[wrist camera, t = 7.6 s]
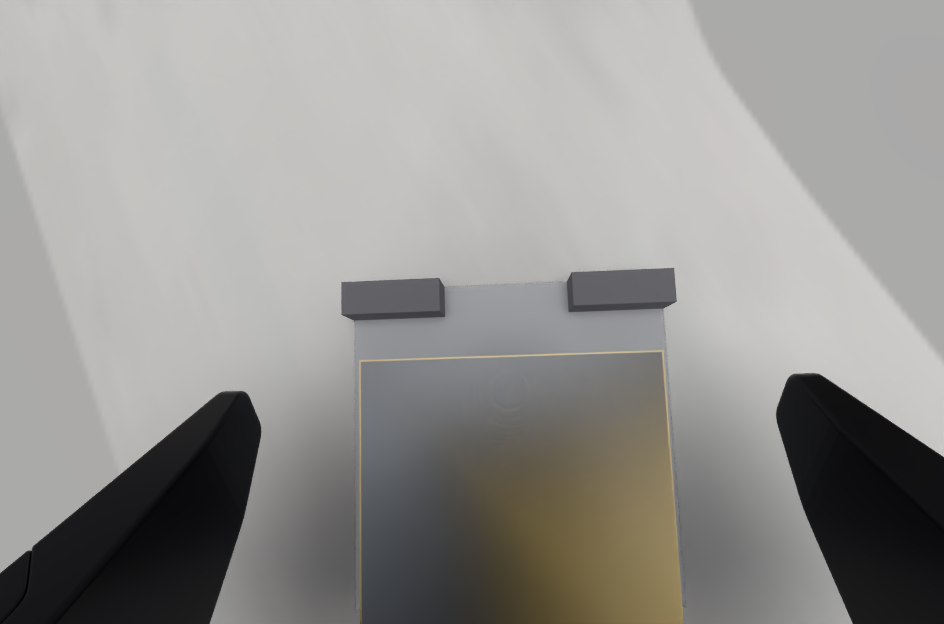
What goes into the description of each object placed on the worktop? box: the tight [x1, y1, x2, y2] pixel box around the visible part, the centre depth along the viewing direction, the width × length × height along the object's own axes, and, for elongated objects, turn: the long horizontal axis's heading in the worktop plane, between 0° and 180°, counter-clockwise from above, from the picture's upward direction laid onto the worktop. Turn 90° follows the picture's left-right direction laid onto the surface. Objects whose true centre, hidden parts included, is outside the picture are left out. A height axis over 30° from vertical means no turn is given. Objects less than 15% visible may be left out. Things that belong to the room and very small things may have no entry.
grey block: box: [359, 350, 684, 624], centre depth 13 cm, size 4×4×11 cm
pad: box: [342, 268, 686, 610], centre depth 18 cm, size 10×10×2 cm
